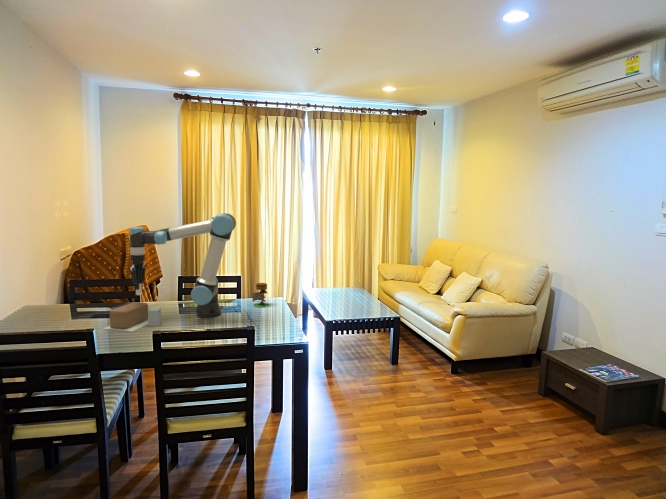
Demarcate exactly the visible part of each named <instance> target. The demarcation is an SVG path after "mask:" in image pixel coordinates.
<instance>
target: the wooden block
mask: <svg viewBox="0 0 666 499" xmlns="http://www.w3.org/2000/svg"><path fill="white" fill-rule="evenodd" d="M148 310H149V303H148V302H147V303H146V302H138V301H137V302H136V301H133V302H130V303H127V304H125V305H121V306H118V307H116V308H112V309H111V310H109V326H110V327H111V328H119V329H127V328H129V327H131V326H134V325H136V324H138V323H141V322H143V321H145V320H149V319H148Z"/></svg>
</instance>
